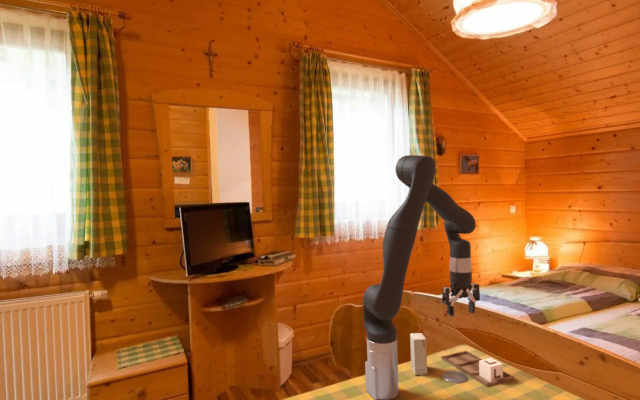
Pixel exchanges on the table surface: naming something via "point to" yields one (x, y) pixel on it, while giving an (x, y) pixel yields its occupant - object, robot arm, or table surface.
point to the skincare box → (418, 353)
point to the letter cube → (490, 369)
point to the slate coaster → (454, 376)
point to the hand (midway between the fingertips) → (461, 314)
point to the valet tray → (472, 367)
